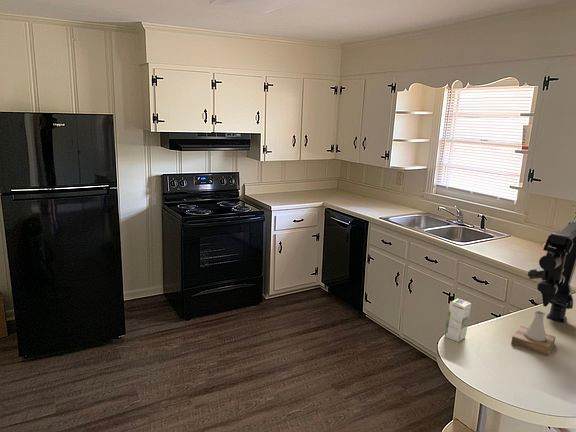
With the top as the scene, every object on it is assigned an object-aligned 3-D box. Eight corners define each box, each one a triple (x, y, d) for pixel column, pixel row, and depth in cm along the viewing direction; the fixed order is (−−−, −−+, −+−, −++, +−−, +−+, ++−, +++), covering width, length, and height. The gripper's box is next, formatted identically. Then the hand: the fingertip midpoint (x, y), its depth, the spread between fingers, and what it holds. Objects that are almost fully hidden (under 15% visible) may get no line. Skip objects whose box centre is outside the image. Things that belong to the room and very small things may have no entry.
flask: (532, 331, 171) (537, 307, 168) (550, 340, 164) (555, 315, 162) (519, 334, 167) (524, 310, 165) (537, 343, 161) (542, 318, 159)
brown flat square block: (519, 332, 175) (520, 325, 175) (554, 344, 168) (555, 336, 167) (511, 343, 166) (512, 336, 166) (547, 356, 159) (548, 348, 158)
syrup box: (451, 332, 173) (456, 297, 169) (465, 338, 169) (471, 302, 165) (444, 336, 169) (449, 301, 166) (459, 343, 165) (464, 306, 162)
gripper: (537, 255, 184) (530, 290, 187) (526, 265, 170) (519, 303, 174) (568, 262, 177) (560, 298, 181) (559, 273, 163) (551, 312, 167)
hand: (547, 302), depth 175 cm, fingers open, 9 cm apart
